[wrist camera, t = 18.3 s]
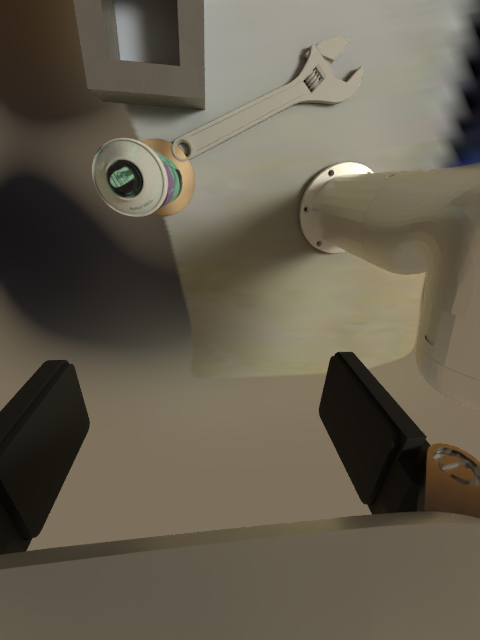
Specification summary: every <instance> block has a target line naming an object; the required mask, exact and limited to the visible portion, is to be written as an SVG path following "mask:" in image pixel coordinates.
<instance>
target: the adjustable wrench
mask: <svg viewBox="0 0 480 640" xmlns="http://www.w3.org/2000/svg"><path fill="white" fill-rule="evenodd" d="M349 43H350V42H349V40H348V39H347V38H344V37H333V38H330V39H328V40H325V41H324V42H322V43H320V44H319V45H317V46H316V45H315V43H313V44H312V46H311V47H310V49H309V50H308V52H307V53H306V54H305V55H304V56H305V58H306V59H307V61H306V63H305V65H304V67H303V69H302V71H301V73H300V74H299V76H298V77H297V78H296V79H295V80H293V81H292V82H290V83H289V84H287V85H285V86H283V87H281V88H279V89H277V90H275V91H273V92H270V93H268V94H266V95H264V96H262V97H260V98H258V99H256V100H254V101H252V102H250V103H248V104H246V105H244V106H242V107H240V108H238V109H236V110H234V111H232V112H230V113H228V114H226V115H224V116H222V117H220V118H218V119H216V120H214V121H212V122H210V123H208V124H206V125H204V126H201V127H199V128H197V129H195V130H193V131H191V132H189V133H187V134H185V135H183V136H181V137H179V138H177V139H176V140H175V141H174V143H173V146H172V151H173V154H174V156H175V157H176V158H177V159H178V160H180V161H187V160H191V159H193V158H194V157H196V156H198V155H200V154H202V153H204V152H206V151H208V150H210V149H211V148H213V147H215V146H217V145H219V144H221V143H223V142H225V141H227V140H228V139H230V138H232V137H234V136H236V135H238V134H240V133H242V132H244V131H245V130H247V129H249V128H251V127H253V126H255V125H257V124H259V123H261V122H262V121H264V120H266V119H268V118H270V117H272V116H274V115H276V114H278V113H279V112H281V111H283V110H285V109H287V108H289V107H291V106H293V105H296V104H299V103H324V104H331V105H334V104H338V103H341V102H343V101H344V100H346V99H348V98H349V97H350V96H351V95H352V94H353V93H354V92H355V91H356V89H357V88H358V86H359V84H360V82H361V80H362V76H363V71H364V69H363V65H362V66H361V67H359V68H358V69H357V70H356V71H355V72H354V73H353V75H352V76H351V77H350V78H349V79H348V80H347V81H346V82H345V81H342V80H339V79H337V78H336V77H335V75H334V74H333V72H332V70H331V63H332V62H333V61H334V60H335V59H336V58H337V57H338V56H339V54H340V53H341V52H342V51H343V50H344V48H345V47H346V46H347V45H348V44H349ZM313 70H314V71H313ZM318 79H319V80H318ZM304 80H305V81H306V83H304V82H303V81H304ZM306 84H308V86H306ZM308 87H310V88H309V89H308ZM310 90H312V92H310ZM179 143H186V144H187V145H188V147H189V150H190V152H189V155H188V156H187V158H186V159H181V158H179V157H178V156H177V155H176V153H175V149H174V147H175V146H178V144H179Z"/></svg>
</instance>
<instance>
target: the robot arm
mask: <svg viewBox="0 0 480 640" xmlns="http://www.w3.org/2000/svg"><path fill="white" fill-rule="evenodd" d="M328 172H330V175H328ZM305 207H306V210H305V211H304V208H305ZM299 221H300V227H301V230H302V232H303V235H304V236H305V238H306V239H307V241H308V242H309V243H310V244H311V245H312V246H314V247H315V248H317V249H319V250H321V251H323V252H327V253H342V252H346V251H347V252H349V253H351V254H353V255H355V256H357V257H359V258H361V259H364V260H366V261H368V262H370V263H372V264H374V265H376V266H378V267H380V268H383V269H385V270H387V271H389V272H392V273H396V274H403V275H410V274H420V273H424V272H427V277H426V284H425V289H424V293H425V295H424V301H423V307H422V313H421V318H420V324H419V330H418V336H417V343H416V352H415V356H416V365H417V368H418V370H419V372H420V374H421V376H422V377H423V378H424V380H425V381H426V382H427V383H428V384H429V385H430V386H431V387H432V388H433V389H435V390H436V391H438V392H439V393H440V394H442V395H444V396H445V397H447V398H449V399H451V400H453V401H455V402H457V403H460V404H462V405H465V406H468V407H470V408H473V409H476V410H479V411H480V163H475V164H470V165H465V166H459V167H451V168H441V169H429V170H416V171H400V172H383V173H374V172H373V171H372V170H371V169H370V168H368V167H367V166H365V165H363V164H361V163H356V162H342V163H337V164H334V165H331V166H329V167H327V168H326V169H324V170H323V171H321V172H320V173H319V174H318V175H317V176H315V177H314V179H313V180H312V181H311V182H310V184H309V185H308V187H307V188H306V190H305V192H304V194H303V197H302V200H301V204H300V209H299ZM317 241H318V244H316V243H317ZM319 415H320V418H321V420H322V422H323V424H324V426H325V428H326V430H327V432H328V434H329V436H330V438H331V440H332V442H333V444H334V446H335V448H336V451H337V453H338V455H339V457H340V459H341V461H342V463H343V465H344V467H345V469H346V471H347V473H348V475H349V477H350V479H351V481H352V483H353V485H354V487H355V489H356V491H357V493H358V495H359V497H360V499H361V501H362V502H363V503H364V504H367V505H368V507H369V509H370V511H371V513H372V515H362V516H350V517H340V518H331V519H320V520H311V521H300V522H291V523H281V524H270V525H261V526H252V527H241V528H232V529H223V530H212V531H204V532H194V533H184V534H175V535H166V536H156V537H147V538H138V539H129V540H120V541H111V542H102V543H93V544H84V545H75V546H66V547H57V548H49V549H41V550H33V551H26V550H27V548H28V546H29V544H30V542H31V540H32V538H34V537H36V536H38V535H39V533H40V532H41V530H42V528H43V526H44V524H45V522H46V519H47V517H48V515H49V513H50V511H51V509H52V507H53V504H54V502H55V500H56V498H57V496H58V494H59V492H60V490H61V487H62V485H63V483H64V481H65V479H66V477H67V475H68V473H69V471H70V469H71V466H72V464H73V462H74V460H75V458H76V456H77V454H78V451H79V449H80V447H81V445H82V443H83V441H84V439H85V437H86V435H87V432H88V430H89V424H90V422H89V417H88V414H87V410H86V407H85V403H84V399H83V396H82V392H81V389H80V385H79V381H78V378H77V374H76V371H75V367H74V365H73V364H69V362H68V361H66V360H48V361H46V362H44V363H43V364H42V366H41V367H40V368H39V369H38V370H37V371H36V372H35V374H33V376H32V377H31V378H30V379H29V380H28V381H27V382H26V383H25V385H24V386H23V387H22V388H21V389H20V390H19V391H18V392H17V393H16V395H15V396H14V397H13V398H12V399H11V400H10V401H9V403H8V404H7V405H6V406H5V407H4V408H3V409H2V410H1V411H0V640H480V462H479V461H478V460H477V459H476V458H475V457H473V456H472V455H470V454H469V453H467V452H466V451H464V450H462V449H460V448H458V447H455V446H452V445H449V444H444V443H436V444H432V445H430V444H429V443H428V442H427V441H426V440H425V439H426V436H425V435H424V433H423V432H422V431H421V430H420V429H419V428H418V426H417V425H416V424H415V423H414V422H413V421H412V420H411V419H410V417H409V416H408V415H407V414H406V413H405V412H404V410H403V409H402V408H401V407H400V406H399V405H398V404H397V402H396V401H395V400H394V399H393V398H392V397H391V396H390V394H389V393H388V392H387V391H386V390H385V389H384V387H383V386H382V385H381V384H380V383H379V382H378V381H377V380H376V378H375V377H374V376H373V375H372V374H371V373H370V371H369V370H368V369H367V368H366V367H365V366H364V364H363V363H362V362H361V361H360V360H359V359H358V358H357V356H356V355H355V354H354V353H353V352H337V353H336V354H335V356H332V357H331V359H330V362H329V367H328V371H327V375H326V380H325V385H324V388H323V393H322V397H321V402H320V406H319Z"/></svg>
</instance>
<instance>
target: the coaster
mask: <svg viewBox="0 0 480 640" xmlns="http://www.w3.org/2000/svg"><path fill="white" fill-rule="evenodd" d="M142 143H144V144H146V145H147V146H149V147H150V148H152V149H154V150H155V151H157V152H158V153H160V154H161V155H163V156H165V157H166V158H168V159H169V160H171V161H172V162H173V163H175V165H176V166H177V167H178V169H179V170H180V172H181V175H182V179H183V186H182V190H181V193H180V195H179V196H178V197H177V198H176V199H175V200H174V201H172V202H170V203H169V204H167V205H165V206H164V207H162V208H160V209H158V210H157V211H155V212H153V214H156V215H172V214H175V213H177V212H179V211H180V210H182V209H183V208H184V207H185V206H186V205H187V204H188V203H189V201H190V199H191V197H192V195H193V192H194V186H195V179H194V172H193V169H192V166H191V164H190V162H189V160H187V161H180V160H178V159H177V158H176V157H175V156H174V154H173V151H172V146H173V144H172V143H170V142H168V141H165V140H161V139H149V140H145V141H142ZM174 149H175V153H176V155H177V156H178V157H179V158H181V159H186V158H187V157H186V156H185V154H184V153H183V152H182V151H181V150H180V149H179V148H178V147H177V146H175V147H174Z"/></svg>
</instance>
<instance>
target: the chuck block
mask: <svg viewBox="0 0 480 640" xmlns="http://www.w3.org/2000/svg"><path fill="white" fill-rule="evenodd" d="M73 3H74V9H75V16H76V22H77V28H78V34H79V40H80V46H81V51H82V58H83V65H84V71H85V77H86V83H87V89H88V90H90V91H91V92H92V93H93V94H95V95H96V96H97V97H99V98H100V99H101V100H102V101H104V102H116V103H128V104H141V105H153V106H166V107H179V108H191V109H204V110H205V73H204V0H177V7H178V31H179V54H180V66H174V65H164V64H154V63H143V62H133V61H123V60H120V53H119V44H118V36H117V27H116V19H115V10H114V1H113V0H73Z"/></svg>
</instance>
